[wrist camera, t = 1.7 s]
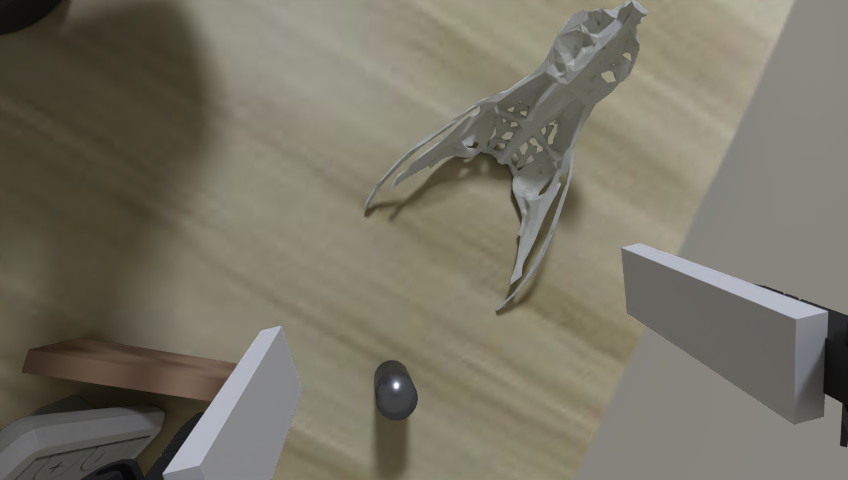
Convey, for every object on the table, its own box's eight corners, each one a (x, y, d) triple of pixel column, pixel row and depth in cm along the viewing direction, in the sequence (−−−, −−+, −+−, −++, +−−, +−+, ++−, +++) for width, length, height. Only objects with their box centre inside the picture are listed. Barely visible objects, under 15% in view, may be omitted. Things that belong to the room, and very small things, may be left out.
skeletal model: (356, 214, 36) (545, -101, 22) (392, 178, 43) (548, -72, 30) (498, 315, 37) (766, 74, 23) (509, 262, 44) (713, 58, 30)
